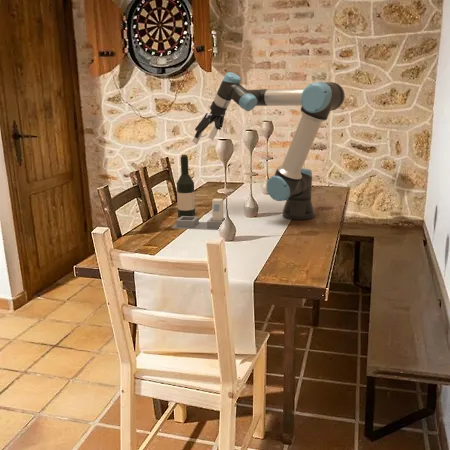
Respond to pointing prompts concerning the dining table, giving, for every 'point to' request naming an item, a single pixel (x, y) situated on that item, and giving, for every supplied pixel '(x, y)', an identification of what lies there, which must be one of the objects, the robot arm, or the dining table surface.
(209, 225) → the grey holder tray
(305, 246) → the dining table surface
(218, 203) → the cream box
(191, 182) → the wine bottle
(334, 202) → the dining table surface
